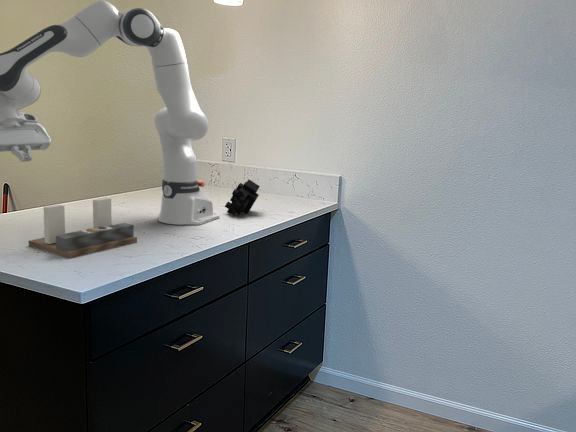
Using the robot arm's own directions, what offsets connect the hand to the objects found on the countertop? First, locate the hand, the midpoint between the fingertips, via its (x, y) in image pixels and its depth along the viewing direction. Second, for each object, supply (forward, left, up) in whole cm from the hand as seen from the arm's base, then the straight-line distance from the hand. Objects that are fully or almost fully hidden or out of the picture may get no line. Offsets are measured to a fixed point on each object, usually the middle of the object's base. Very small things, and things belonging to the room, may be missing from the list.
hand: (26, 160), depth 165 cm
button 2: (-13, +16, -21) cm, 29 cm away
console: (-5, +18, -22) cm, 29 cm away
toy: (-72, +23, -23) cm, 79 cm away
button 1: (+3, +16, -21) cm, 26 cm away
